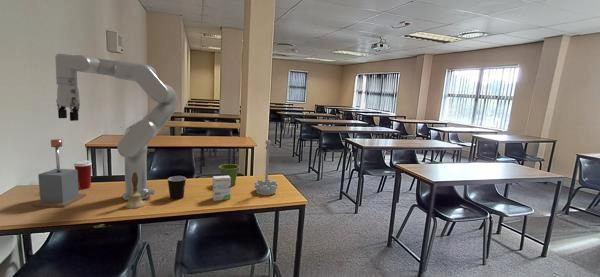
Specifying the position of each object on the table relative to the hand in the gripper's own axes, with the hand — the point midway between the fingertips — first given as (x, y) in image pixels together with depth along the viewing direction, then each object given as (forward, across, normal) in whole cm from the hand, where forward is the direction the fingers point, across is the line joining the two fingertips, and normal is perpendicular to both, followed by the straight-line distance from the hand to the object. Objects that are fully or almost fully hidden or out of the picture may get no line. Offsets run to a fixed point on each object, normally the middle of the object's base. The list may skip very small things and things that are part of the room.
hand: (68, 119), depth 138 cm
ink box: (+37, -58, -41) cm, 80 cm away
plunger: (+28, 0, +5) cm, 28 cm away
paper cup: (+38, +10, -11) cm, 41 cm away
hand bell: (+38, -32, -11) cm, 51 cm away
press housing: (+38, -1, +5) cm, 39 cm away
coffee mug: (+37, -38, -30) cm, 62 cm away
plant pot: (+37, -46, -61) cm, 85 cm away
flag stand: (+36, -70, -64) cm, 102 cm away
